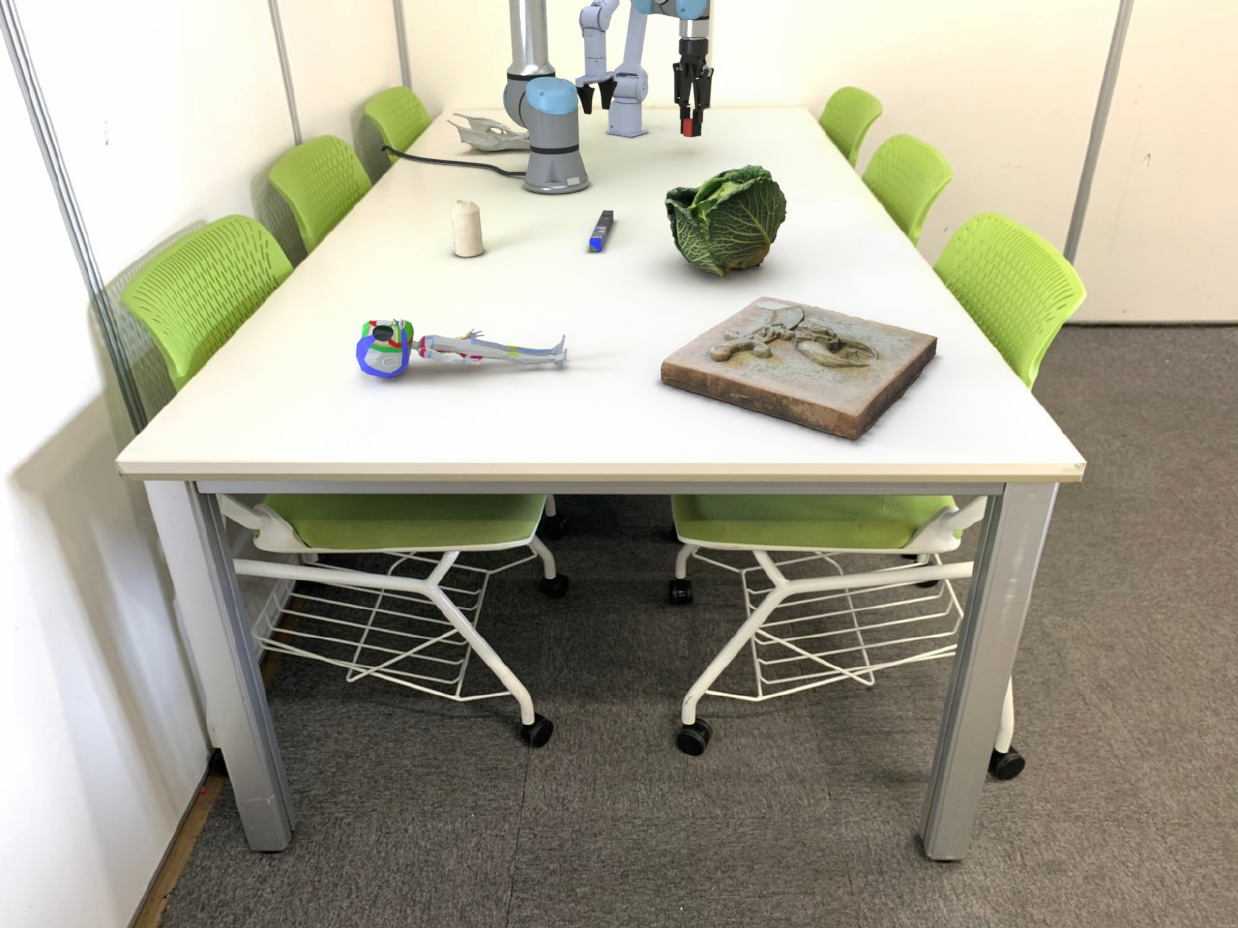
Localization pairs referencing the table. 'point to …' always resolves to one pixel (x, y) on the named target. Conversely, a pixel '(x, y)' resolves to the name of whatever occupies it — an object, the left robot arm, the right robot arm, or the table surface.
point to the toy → (435, 349)
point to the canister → (687, 127)
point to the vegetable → (727, 219)
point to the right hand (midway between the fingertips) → (596, 111)
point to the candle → (466, 228)
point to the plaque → (803, 364)
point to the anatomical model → (490, 135)
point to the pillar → (601, 230)
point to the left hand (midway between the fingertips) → (690, 134)
